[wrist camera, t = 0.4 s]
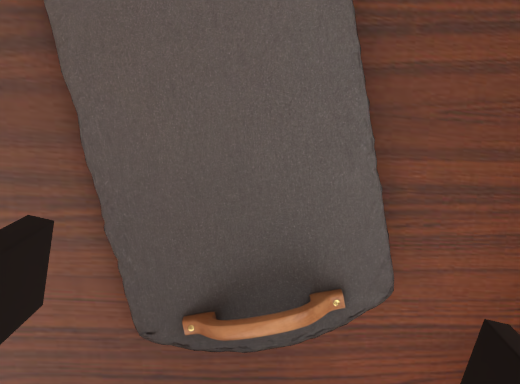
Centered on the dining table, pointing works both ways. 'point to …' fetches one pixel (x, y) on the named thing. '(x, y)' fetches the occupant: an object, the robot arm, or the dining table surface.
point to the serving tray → (230, 164)
